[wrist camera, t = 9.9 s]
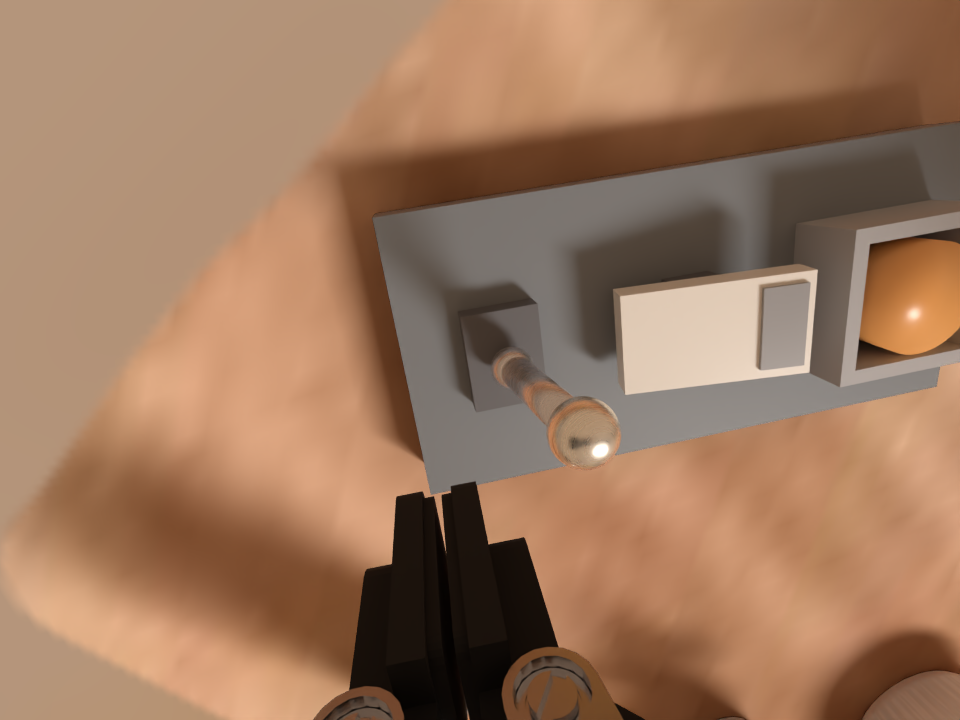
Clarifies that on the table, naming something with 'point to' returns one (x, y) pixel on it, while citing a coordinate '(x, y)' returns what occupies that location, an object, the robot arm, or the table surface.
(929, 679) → the ramekin
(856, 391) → the control panel
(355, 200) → the table surface
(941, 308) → the push button
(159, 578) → the table surface
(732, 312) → the rocker switch
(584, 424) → the toggle lever
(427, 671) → the robot arm
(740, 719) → the house plant
